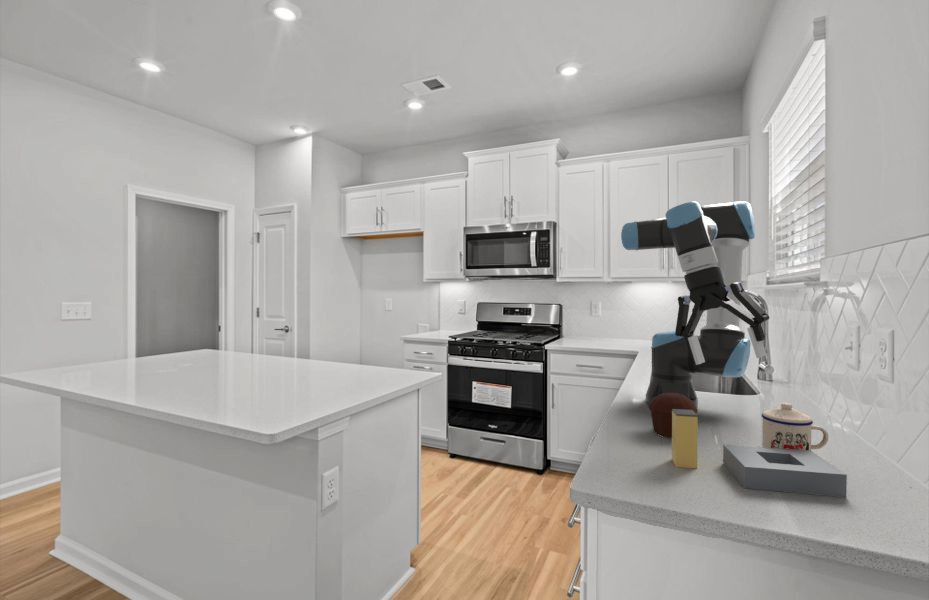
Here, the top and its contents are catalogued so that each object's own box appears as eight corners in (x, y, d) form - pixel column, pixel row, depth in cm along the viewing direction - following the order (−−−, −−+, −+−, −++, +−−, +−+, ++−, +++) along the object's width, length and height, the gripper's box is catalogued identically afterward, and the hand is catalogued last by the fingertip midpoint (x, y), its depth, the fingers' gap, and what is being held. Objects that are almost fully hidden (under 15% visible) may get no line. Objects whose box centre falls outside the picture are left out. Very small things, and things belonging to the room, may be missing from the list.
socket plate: (723, 463, 94) (723, 444, 94) (810, 470, 90) (811, 450, 90) (744, 488, 82) (745, 466, 82) (846, 497, 79) (846, 474, 79)
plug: (671, 459, 96) (672, 408, 96) (692, 461, 95) (692, 409, 95) (676, 466, 92) (676, 413, 92) (697, 468, 92) (697, 415, 91)
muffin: (670, 442, 107) (670, 401, 107) (638, 429, 117) (638, 391, 117) (708, 437, 111) (708, 397, 110) (674, 424, 121) (674, 387, 121)
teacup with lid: (767, 461, 95) (768, 407, 95) (756, 447, 104) (756, 397, 103) (836, 469, 91) (837, 412, 91) (819, 453, 99) (820, 401, 99)
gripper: (644, 285, 111) (670, 369, 108) (749, 254, 90) (783, 357, 88) (662, 281, 115) (687, 362, 112) (766, 250, 94) (799, 349, 92)
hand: (729, 360), depth 100 cm, fingers open, 13 cm apart
